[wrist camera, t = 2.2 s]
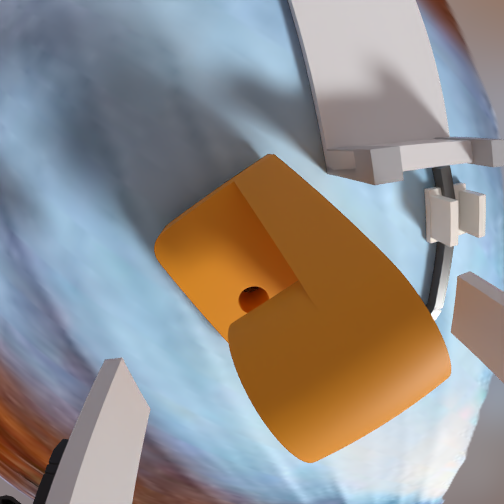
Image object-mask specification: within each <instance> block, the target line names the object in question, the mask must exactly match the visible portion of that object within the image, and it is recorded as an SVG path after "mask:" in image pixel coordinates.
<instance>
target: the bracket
mask: <svg viewBox="0 0 504 504" xmlns="http://www.w3.org/2000/svg"><path fill="white" fill-rule="evenodd" d="M154 252H155V256H156V258H157V260H158V261H159V263H160V264H161V265H162V267H163V268H164V269H165V270H166V271H167V273H168V274H169V275H170V276H171V278H172V279H173V280H174V281H175V282H176V284H177V285H178V286H179V287H180V288H181V290H182V291H183V292H184V293H185V294H186V296H187V297H188V298H189V299H190V300H191V301H192V303H193V304H194V305H195V306H196V307H197V308H198V310H199V311H200V312H201V313H202V314H203V315H204V316H205V318H206V319H207V320H208V321H209V322H210V323H211V324H212V325H213V327H214V328H215V329H216V330H217V331H218V332H219V333H220V334H221V336H222V337H223V338H224V339H225V340H226V341H227V342H228V343H229V348H230V352H231V356H232V359H233V362H234V365H235V368H236V371H237V373H238V376H239V378H240V380H241V383H242V385H243V387H244V389H245V391H246V393H247V395H248V397H249V399H250V400H251V402H252V404H253V406H254V407H255V409H256V411H257V412H258V414H259V416H260V417H261V419H262V420H263V422H264V423H265V424H266V426H267V427H268V428H269V430H270V431H271V432H272V434H273V435H274V436H275V437H276V438H277V440H278V441H279V442H280V443H281V444H282V445H283V446H284V447H285V448H286V449H287V450H288V451H289V452H290V453H292V454H293V455H294V456H295V457H297V458H298V459H300V460H302V461H304V462H307V463H313V462H316V461H318V460H320V459H322V458H324V457H326V456H328V455H330V454H332V453H334V452H336V451H338V450H340V449H342V448H344V447H345V446H347V445H349V444H351V443H353V442H355V441H356V440H358V439H360V438H362V437H363V436H365V435H367V434H368V433H370V432H372V431H373V430H375V429H377V428H378V427H380V426H382V425H383V424H385V423H386V422H388V421H389V420H391V419H393V418H394V417H396V416H397V415H399V414H400V413H402V412H403V411H405V410H406V409H407V408H409V407H410V406H412V405H413V404H415V403H416V402H417V401H419V400H420V399H421V398H423V397H424V396H426V395H427V394H428V393H429V392H431V391H432V390H433V389H435V388H436V387H437V386H439V385H440V384H441V383H442V382H444V381H445V380H446V379H447V378H448V377H449V376H450V374H451V363H450V358H449V354H448V351H447V348H446V345H445V342H444V340H443V338H442V335H441V333H440V331H439V329H438V327H437V325H436V323H435V321H434V319H433V317H432V316H431V314H430V312H429V311H428V309H427V307H426V306H425V304H424V302H423V301H422V299H421V298H420V296H419V295H418V294H417V292H416V291H415V289H414V288H413V287H412V285H411V284H410V283H409V281H408V280H407V279H406V278H405V276H404V275H403V274H402V273H401V272H400V270H399V269H398V268H397V267H396V266H395V265H394V264H393V263H392V262H391V261H390V260H389V259H388V258H387V256H386V255H385V254H384V253H383V252H382V251H381V250H380V249H379V248H378V247H377V246H376V245H375V244H373V243H372V242H371V241H370V240H369V239H368V238H367V237H366V236H365V235H364V234H363V233H362V232H361V231H360V230H359V229H358V228H357V227H356V226H355V225H354V224H353V223H352V222H351V221H350V220H349V219H347V218H346V217H345V216H344V215H343V214H342V213H341V212H340V211H339V210H338V209H337V208H336V207H335V206H333V205H332V204H331V203H330V202H329V201H328V200H327V199H326V198H325V197H323V196H322V195H321V194H320V193H319V192H318V191H317V190H316V189H314V188H313V187H312V186H311V185H310V184H309V183H308V182H306V181H305V180H304V179H303V178H302V177H301V176H299V175H298V174H297V173H296V172H295V171H294V170H292V169H291V168H290V167H289V166H288V165H287V164H285V163H284V162H283V161H282V160H281V159H279V158H278V157H277V156H276V155H274V154H267V155H266V156H264V157H263V158H261V159H260V160H258V161H257V162H255V163H254V164H252V165H251V166H249V167H248V168H246V169H245V170H243V171H242V172H240V173H239V174H237V175H236V176H234V177H233V178H231V179H230V180H229V181H227V182H226V183H224V184H223V185H221V186H220V187H218V188H217V189H216V190H214V191H213V192H211V193H210V194H208V195H207V196H206V197H204V198H203V199H201V200H200V201H199V202H197V203H196V204H195V205H193V206H192V207H190V208H189V209H188V210H186V211H185V212H184V213H182V214H181V215H179V216H178V217H177V218H175V219H174V220H173V221H171V222H170V223H169V224H167V225H166V226H165V228H164V229H163V231H162V232H161V233H160V235H159V236H158V238H157V240H156V242H155V246H154ZM253 286H257V287H259V288H258V289H256V290H254V291H252V292H245V291H243V290H245V289H246V288H248V287H253Z"/></svg>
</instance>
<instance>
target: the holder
mask: <svg viewBox="0 0 504 504" xmlns="http://www.w3.org/2000/svg"><path fill="white" fill-rule="evenodd" d="M288 3H289V6H290V10H291V13H292V16H293V20H294V23H295V27H296V31H297V34H298V38H299V42H300V45H301V49H302V53H303V57H304V61H305V65H306V69H307V74H308V78H309V82H310V86H311V91H312V95H313V100H314V105H315V110H316V114H317V119H318V124H319V129H320V135H321V140H322V146H323V151H324V157H325V163H326V169H327V174H330V175H335V176H339V177H344V178H348V179H352V180H356V181H360V182H364V183H368V184H372V185H379V184H385V183H391V182H396V181H403V180H404V179H403V171H409V170H416V169H423V168H431V167H438V166H446V165H454V164H462V163H470V164H476V165H483V166H489V167H500V166H504V140H501V139H488V138H471V137H450V136H449V129H448V122H447V116H446V110H445V104H444V99H443V94H442V89H441V84H440V80H439V75H438V71H437V67H436V63H435V59H434V56H433V52H432V48H431V45H430V42H429V38H428V35H427V32H426V29H425V26H424V23H423V20H422V17H421V14H420V11H419V8H418V6H417V3H416V0H288Z"/></svg>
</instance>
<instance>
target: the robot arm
mask: <svg viewBox="0 0 504 504" xmlns="http://www.w3.org/2000/svg"><path fill="white" fill-rule="evenodd" d="M451 333H452V334H453V335H454V336H455V337H456V338H458V339H459V340H460V341H461V342H462V343H463V344H464V345H465V346H466V347H467V348H468V349H469V350H470V351H471V352H472V353H473V354H475V355H476V356H477V357H478V358H479V359H480V360H481V361H482V362H483V363H484V364H485V365H486V366H487V367H488V368H489V369H490V370H491V371H492V372H493V373H494V374H495V375H496V376H497V377H498V378H499V379H500V380H501V381H502V382H503V383H504V292H503V291H501V290H500V289H498V288H497V287H495V286H493V285H492V284H490V283H489V282H487V281H485V280H484V279H482V278H480V277H479V276H477V275H475V274H474V273H472V272H467V273H464V274H462V275H459V276H458V277H457V288H456V298H455V306H454V314H453V321H452V327H451ZM149 413H150V408H149V406H148V404H147V402H146V401H145V399H144V397H143V396H142V394H141V392H140V390H139V388H138V387H137V385H136V383H135V381H134V379H133V377H132V375H131V374H130V372H129V370H128V368H127V366H126V364H125V362H124V360H123V358H115V359H106V360H105V361H104V363H103V365H102V367H101V369H100V371H99V373H98V375H97V377H96V379H95V381H94V384H93V386H92V388H91V390H90V392H89V394H88V397H87V399H86V401H85V403H84V405H83V408H82V410H81V412H80V415H79V417H78V419H77V422H76V424H75V426H74V429H73V431H72V433H71V436H70V438H69V439H62V441H61V442H60V443H59V444H58V445H57V446H56V448H55V449H54V450H53V453H52V455H51V457H50V460H49V464H48V465H47V467H46V470H45V474H44V475H43V477H42V480H41V483H40V485H39V488H38V491H37V494H36V496H35V499H34V502H33V504H132V499H133V493H134V488H135V482H136V476H137V471H138V466H139V461H140V455H141V450H142V445H143V441H144V436H145V431H146V426H147V422H148V417H149ZM0 504H21V503H20V502H18V501H17V500H16V499H15V498H13V497H11V496H7V495H6V496H1V497H0Z"/></svg>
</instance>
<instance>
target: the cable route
mask: <svg viewBox="0 0 504 504" xmlns="http://www.w3.org/2000/svg"><path fill="white" fill-rule="evenodd" d="M432 169H433V174H434V179H435V184H436V187H432V188H427V189H424V191H425V207H426V241H427V242H429V243H434V242H437V241H438V242H437V250H436V258H435V265H434V272H433V278H432V284H431V290H430V295H429V300H428V304H427V305H426V307H427V309H428V311H429V312H430V314H431V316H432V317H433V319H434V321H435V320H436V319H437V317H438V316H439V314H440V312H441V310H440V309H441V308H443V305H444V300H445V295H446V290H447V285H448V280H449V274H450V268H451V262H452V255H453V248H454V246H456V245H458V235H461V234H464V233H468V234H471V235H473V236H475V237H478V238H480V237H483V236H485V217H486V195H485V194H481V193H478V192H474V191H470V190H466V186H465V183H455V184H453V180H452V174H451V169H450V165H446V166H438V167H433V168H432Z"/></svg>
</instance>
